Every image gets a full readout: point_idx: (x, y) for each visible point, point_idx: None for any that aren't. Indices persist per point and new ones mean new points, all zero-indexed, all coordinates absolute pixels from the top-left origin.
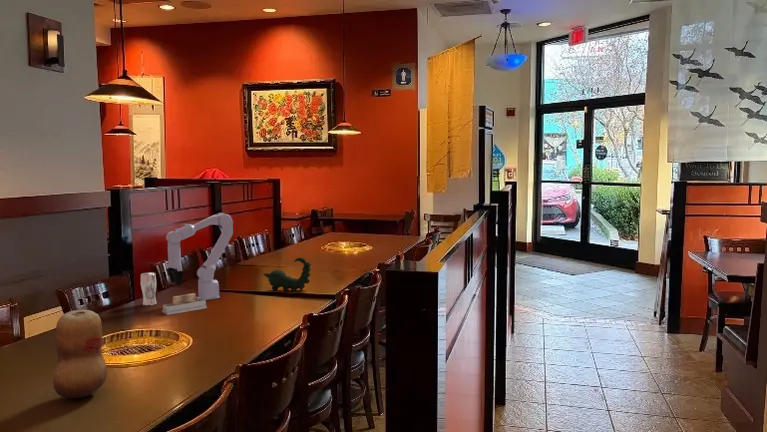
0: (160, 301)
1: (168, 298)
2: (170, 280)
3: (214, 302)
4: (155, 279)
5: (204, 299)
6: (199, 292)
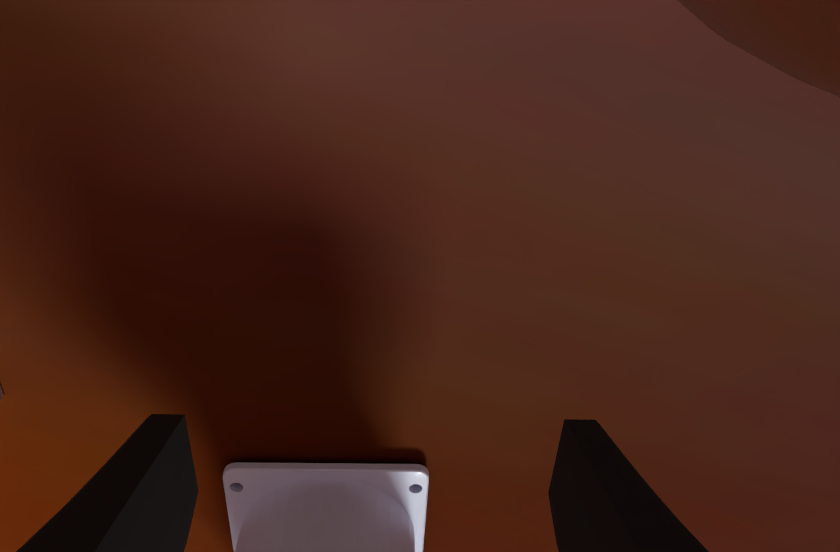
0: (667, 69)
1: (738, 232)
2: (603, 451)
3: None
4: (784, 41)
5: (230, 497)
6: (305, 548)
